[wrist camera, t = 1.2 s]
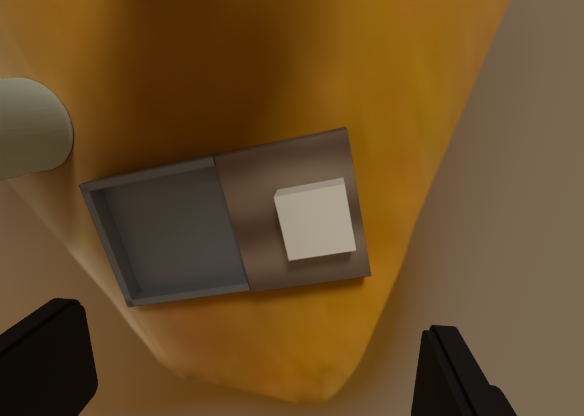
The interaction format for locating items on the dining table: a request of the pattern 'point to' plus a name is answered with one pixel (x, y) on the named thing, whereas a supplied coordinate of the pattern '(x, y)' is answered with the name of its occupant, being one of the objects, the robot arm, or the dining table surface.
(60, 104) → the can
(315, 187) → the tile
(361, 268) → the brown sliding lid
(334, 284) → the dining table surface
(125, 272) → the box
